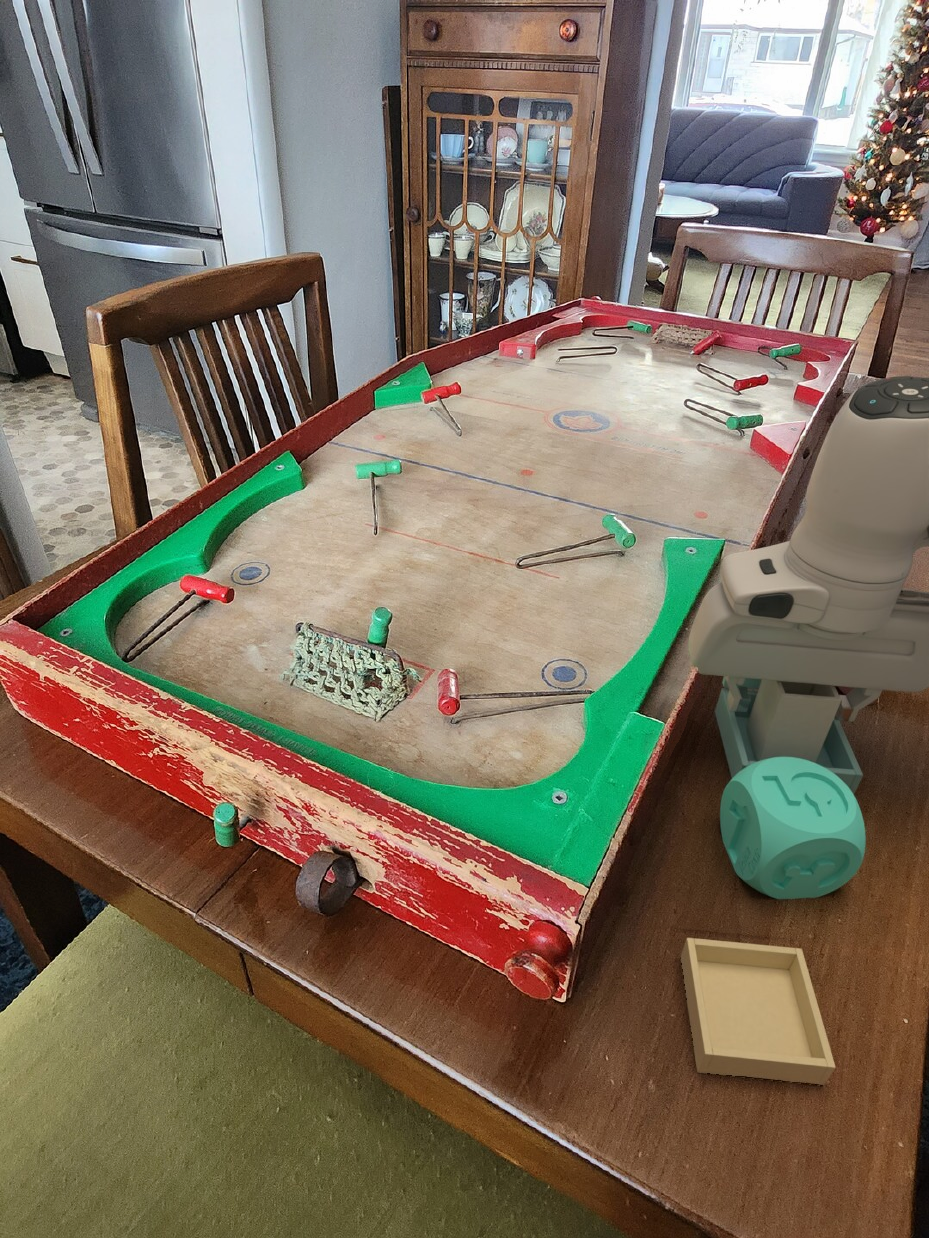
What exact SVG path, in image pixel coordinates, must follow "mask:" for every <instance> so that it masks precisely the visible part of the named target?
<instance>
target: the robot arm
mask: <svg viewBox="0 0 929 1238" xmlns="http://www.w3.org/2000/svg"><path fill="white" fill-rule="evenodd" d="M926 547H929V377H922V376H911V375H898V376H890V377H884V378H879V379H877V380H873V381H871V382H868V383H866V384H863V385H862V386H860V387H858V388H856V389H855V391H854V392H852V393H851V394H850V396H849V397H848V398H847V399H846V401H845V402H844V403H843V405H842V406H841V408H840V409H839V411H838V412H837V413H836V416H835V417H834V419H833V421H832V422H831V425H830V426H829V429H828V431H827V433H826V435H825V437H824V440H823V442H822V445H821V448H820V450H819V453H818V455H817V458H816V460H815V464H814V466H813V469H812V471H811V476H810V478H809V481H808V484H807V488H806V494H805V511H804V514H803V516H802V519H801V520H800V522H799V523H798V524H797V526H796V528H795V529H794V530H793V532H792V535H791V537H790V539H789V540H788V541H785V542H784V541H783V542H781V543H777V544H773V545H769V546H764V547H759V548H755V549H749V550H744V551H738V552H733V553H730V554H727V555H726V556H724V557H723V559H722V560H721V562H720V563H721V564H720V567H719V568H720V570H719V571H720V572H719V573H720V580H721V582H718V583H717V584H715V585H714V586H713V587H711V588H710V589H709V590H708V591H707V593H706V594H705V595H704V597H703V599H702V601H701V603H700V605H699V608H698V610H697V612H696V616H695V617H694V621H693V622H692V626H691V629H690V633H689V635H688V639H687V640H688V641H687V649H688V654H689V655H688V656H689V659H690V663H691V664H692V666H693V667H694V668H695V667H698V671H699V672H698V671H697V672H698V674H700V675H704V676H705V675H706V676H717V677H718V676H719V677H724V676H725V678H726V682H727V685H728V687H727V688H728V689H730V690H729V693H728V696H727V704H728V708H729V711H735V712H747V710H748V708H747V706H749V704H750V701H751V698H750V695H749V694H748V690H749V689H747V687H742V686H738V685H742V684H743V683H744V680H745V678H751V679H763V680H775V681H786V682H798V683H809V684H821V685H832V686H835V687H837V686H844V687H855V688H854V689H853V690H851V691H850V692H849V693H848V694H847V695H845V694H839V696H840V699H841V703H840V705H839V707H838V710H837V712H836V715H835V717H834V718H835V720H839V721H840V722H841V721H842V722H851V723H854V722H855V720H856V718H857V716H858V713H859V712H860V710H863V709H864V708H865V707H866V706H869V705H868V704H870V703H871V702H873V701H874V700H876V701H877V699H879V698H880V697H881V695H882V693H883V691H892V692H903V693H904V692H905V693H912V694H913V693H914V694H916V693H917V694H918V693H921V692H923V691H925V690H927V689H928V688H929V591H922V590H916V589H911V588H904V585H905V583H906V580H907V578H908V577H909V574H910V572H911V569H912V566H913V562H914V554H915V553H916V552H917V551H918V550H920V549H921V548H926Z"/></svg>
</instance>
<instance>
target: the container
mask: <svg viewBox="0 0 929 1238" xmlns="http://www.w3.org/2000/svg"><path fill="white" fill-rule="evenodd" d="M757 691H758V693H757V696H756V699H755V702H754V705H753V708H752V711H751V714H750V717H749V720H748V723H747V726H746V729H747V733H748V736H749V739H750V743H751V746H752V750H753V753H754V756H755V760H756V762H758V761H761V760H764V759H768V758H774V757H794V758H800V759H804V760H808V761H811V762H814V763H816V760H817V758H818V755H819V753H820V751H821V748H822V746H823V743H824V741H825V739H826V736H827V734H828V731H829V729H830V727H831V724H832V722H833V719H834V717H835V715H836V712H837V710H838V707H839V705H840V703H841V699H840V696H839V695H840V694H839V692H838V690H837V688H836V686H832V685H821V684H809V683H798V682H786V681H775V680H763V679H762V681H761V684H760V687H759V690H757Z"/></svg>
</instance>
